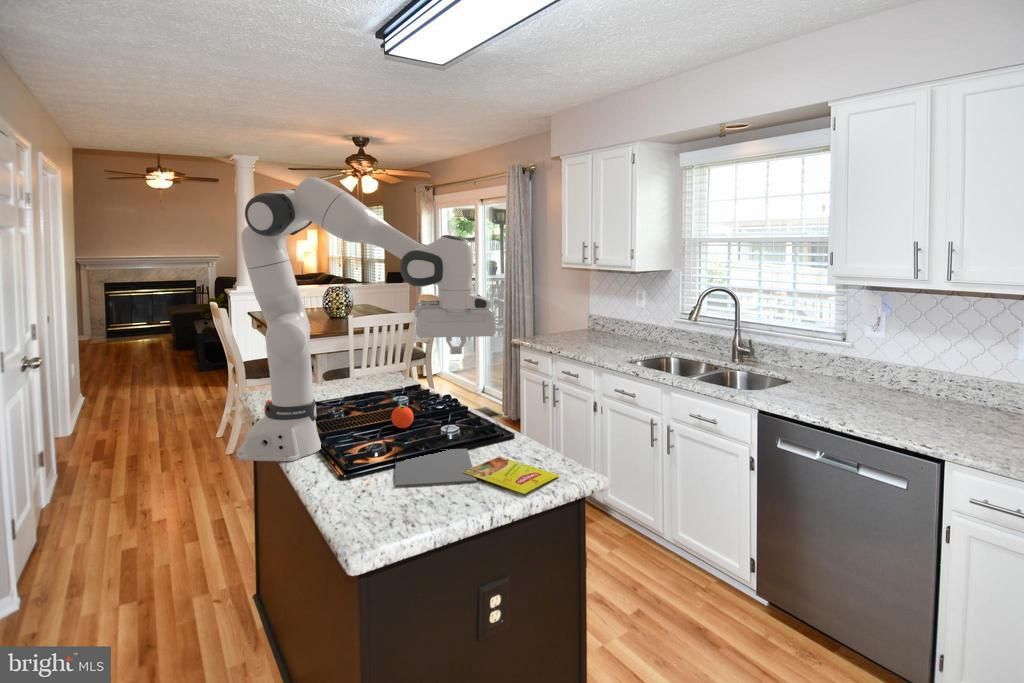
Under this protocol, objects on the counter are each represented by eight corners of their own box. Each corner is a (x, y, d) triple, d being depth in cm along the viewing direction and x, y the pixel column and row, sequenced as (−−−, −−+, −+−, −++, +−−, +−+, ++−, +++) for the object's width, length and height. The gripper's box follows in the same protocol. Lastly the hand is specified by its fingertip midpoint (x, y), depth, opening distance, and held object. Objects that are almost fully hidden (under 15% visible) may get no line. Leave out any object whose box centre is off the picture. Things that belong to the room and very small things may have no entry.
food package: (500, 454, 172) (560, 473, 160) (500, 458, 172) (560, 477, 160) (462, 470, 160) (524, 491, 148) (462, 474, 160) (524, 496, 148)
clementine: (389, 424, 199) (388, 403, 197) (410, 422, 201) (410, 401, 200) (393, 432, 191) (393, 410, 190) (415, 430, 194) (415, 408, 192)
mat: (395, 487, 152) (395, 485, 152) (395, 454, 174) (395, 452, 174) (476, 482, 156) (476, 480, 156) (467, 450, 177) (467, 448, 177)
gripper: (414, 302, 152) (415, 357, 155) (497, 301, 156) (496, 355, 159) (414, 299, 158) (414, 352, 161) (493, 298, 162) (492, 350, 165)
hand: (456, 353), depth 160 cm, fingers closed
